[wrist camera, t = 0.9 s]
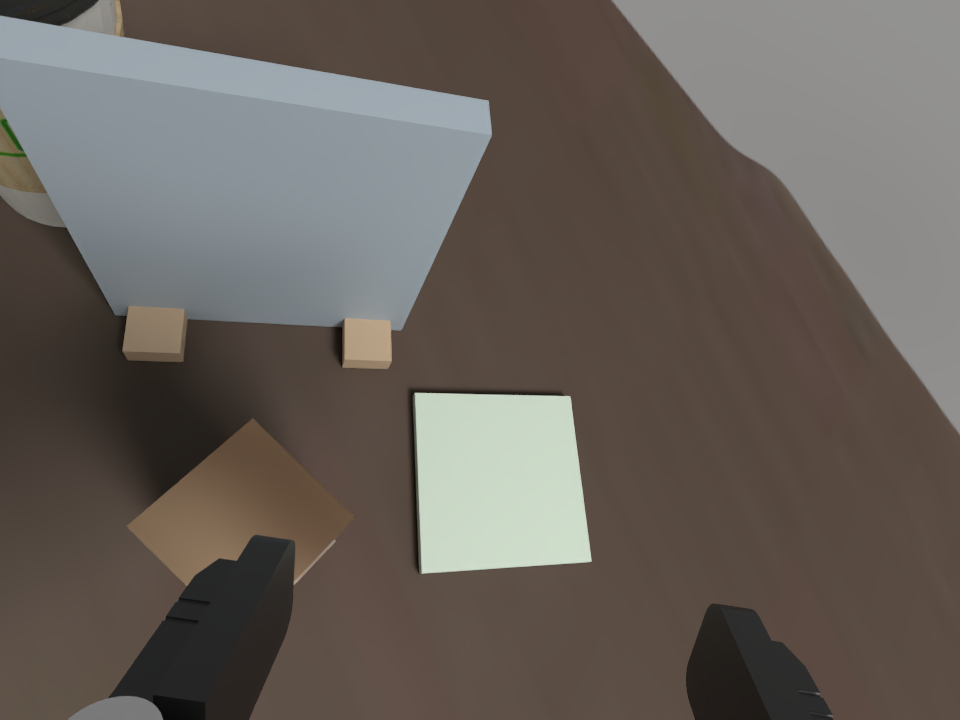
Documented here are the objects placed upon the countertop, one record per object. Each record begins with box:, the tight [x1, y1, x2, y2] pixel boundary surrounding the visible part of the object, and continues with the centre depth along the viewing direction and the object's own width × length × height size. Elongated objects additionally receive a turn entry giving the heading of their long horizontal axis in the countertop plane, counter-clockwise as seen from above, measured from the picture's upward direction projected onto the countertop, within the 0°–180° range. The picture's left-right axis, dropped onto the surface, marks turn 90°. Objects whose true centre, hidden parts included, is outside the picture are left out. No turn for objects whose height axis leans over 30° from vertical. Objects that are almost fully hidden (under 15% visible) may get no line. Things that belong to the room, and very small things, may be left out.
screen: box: [0, 16, 492, 369], centre depth 25 cm, size 14×6×16 cm, turn 95°
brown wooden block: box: [126, 418, 355, 586], centre depth 23 cm, size 4×5×11 cm
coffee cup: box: [0, 0, 124, 227], centre depth 25 cm, size 10×10×15 cm
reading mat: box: [413, 393, 592, 574], centre depth 32 cm, size 9×9×1 cm
